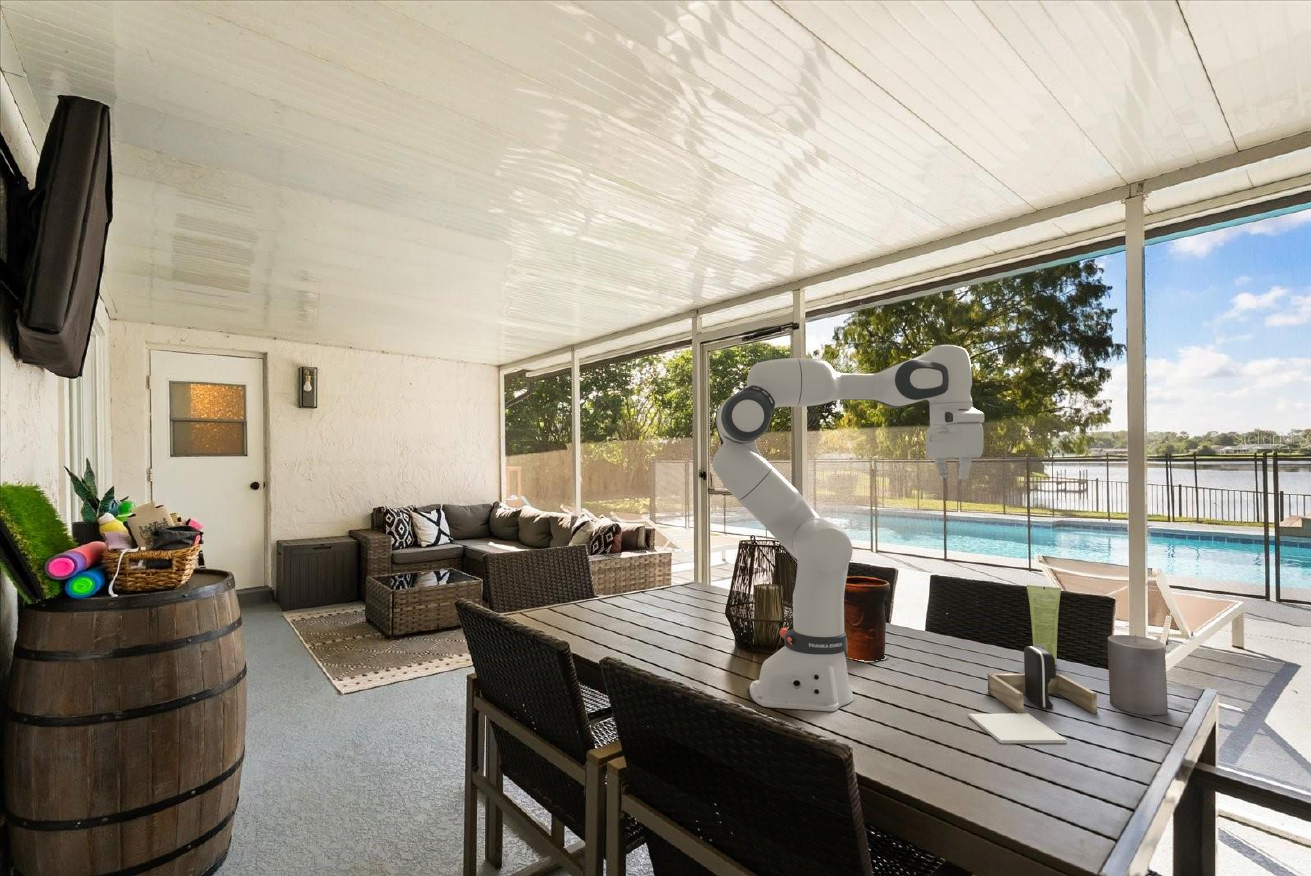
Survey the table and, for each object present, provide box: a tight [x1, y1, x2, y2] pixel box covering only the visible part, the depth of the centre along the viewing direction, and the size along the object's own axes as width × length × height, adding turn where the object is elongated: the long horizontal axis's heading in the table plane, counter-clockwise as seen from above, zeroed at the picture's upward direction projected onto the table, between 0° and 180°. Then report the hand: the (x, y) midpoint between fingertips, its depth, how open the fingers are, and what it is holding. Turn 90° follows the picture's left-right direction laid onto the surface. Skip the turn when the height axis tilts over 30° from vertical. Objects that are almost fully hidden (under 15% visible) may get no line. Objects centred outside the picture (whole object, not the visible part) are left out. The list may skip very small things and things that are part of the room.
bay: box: [987, 672, 1098, 714], centre depth 133 cm, size 16×12×4 cm
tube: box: [1026, 584, 1062, 666], centre depth 159 cm, size 6×5×20 cm
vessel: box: [844, 576, 891, 661], centre depth 167 cm, size 14×14×20 cm
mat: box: [967, 713, 1068, 744], centre depth 120 cm, size 12×12×1 cm
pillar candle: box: [1107, 634, 1169, 716], centre depth 130 cm, size 10×10×15 cm
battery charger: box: [1023, 645, 1057, 709], centre depth 133 cm, size 7×4×11 cm, turn 173°
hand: (952, 478), depth 140 cm, fingers open, 8 cm apart
